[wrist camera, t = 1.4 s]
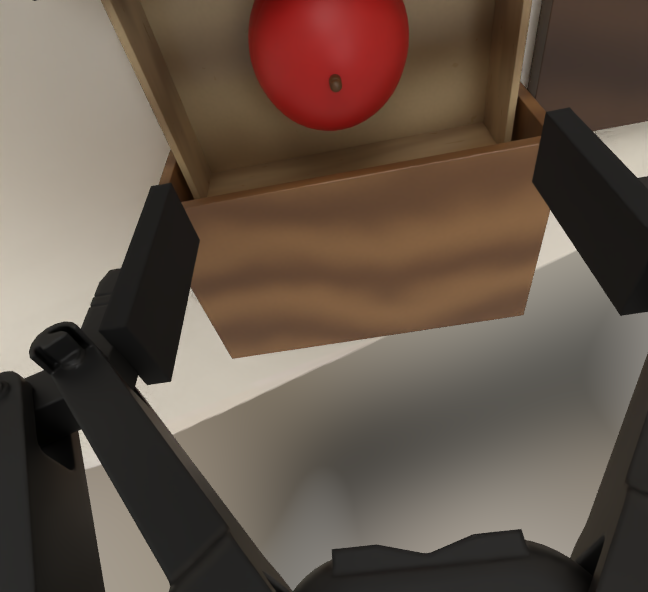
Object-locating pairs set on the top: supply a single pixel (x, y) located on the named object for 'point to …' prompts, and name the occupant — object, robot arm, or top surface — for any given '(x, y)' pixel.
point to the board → (593, 60)
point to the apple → (328, 57)
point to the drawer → (299, 141)
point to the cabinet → (372, 246)
